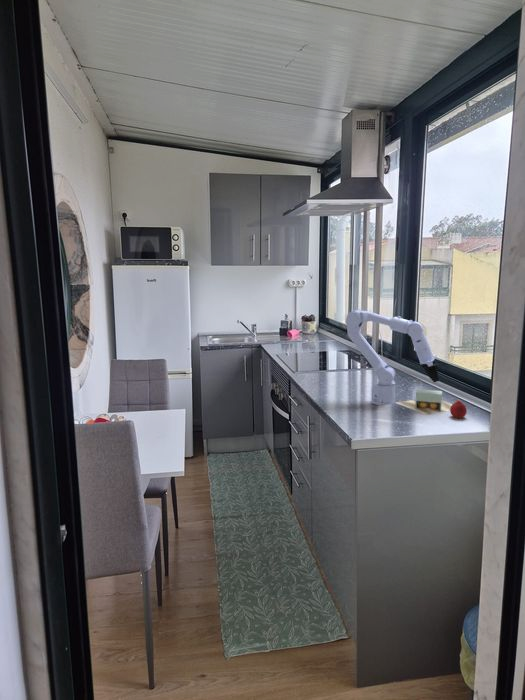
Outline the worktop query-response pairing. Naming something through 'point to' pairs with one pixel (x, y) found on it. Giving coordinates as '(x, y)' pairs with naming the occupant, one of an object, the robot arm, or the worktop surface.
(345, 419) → the worktop surface
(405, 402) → the birch board
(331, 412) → the worktop surface
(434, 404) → the marble
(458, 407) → the red rounded piece
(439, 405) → the sage container
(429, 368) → the robot arm
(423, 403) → the marble
